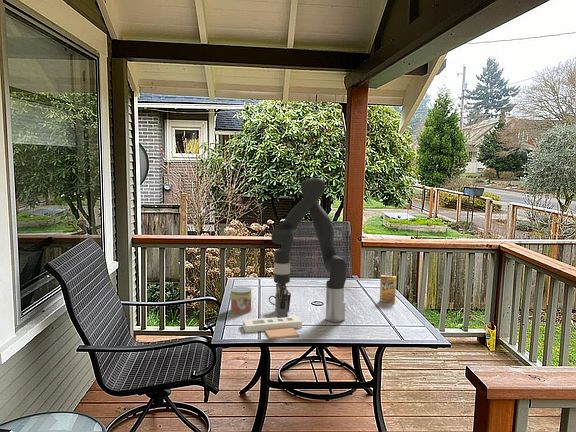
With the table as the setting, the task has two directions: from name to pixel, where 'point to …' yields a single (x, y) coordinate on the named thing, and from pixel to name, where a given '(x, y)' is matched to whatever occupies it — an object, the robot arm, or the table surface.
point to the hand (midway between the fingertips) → (281, 307)
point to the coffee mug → (288, 299)
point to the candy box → (387, 288)
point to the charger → (278, 311)
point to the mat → (281, 333)
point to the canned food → (241, 300)
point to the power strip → (271, 323)
